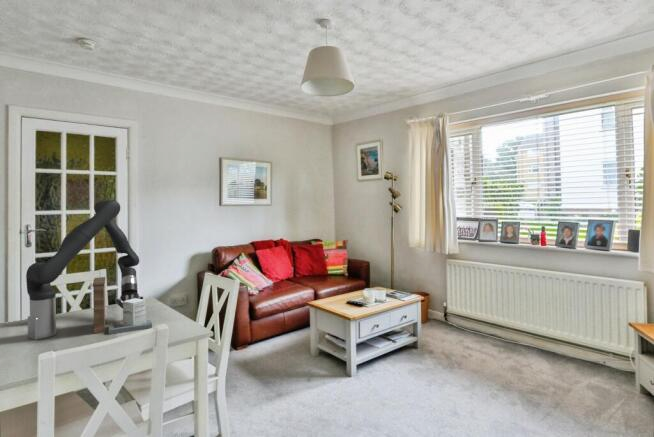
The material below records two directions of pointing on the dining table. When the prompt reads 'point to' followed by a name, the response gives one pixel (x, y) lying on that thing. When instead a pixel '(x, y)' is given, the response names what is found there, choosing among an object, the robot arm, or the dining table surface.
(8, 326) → the dining table surface
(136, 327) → the slate bay
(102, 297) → the walnut partition
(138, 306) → the supplement box
